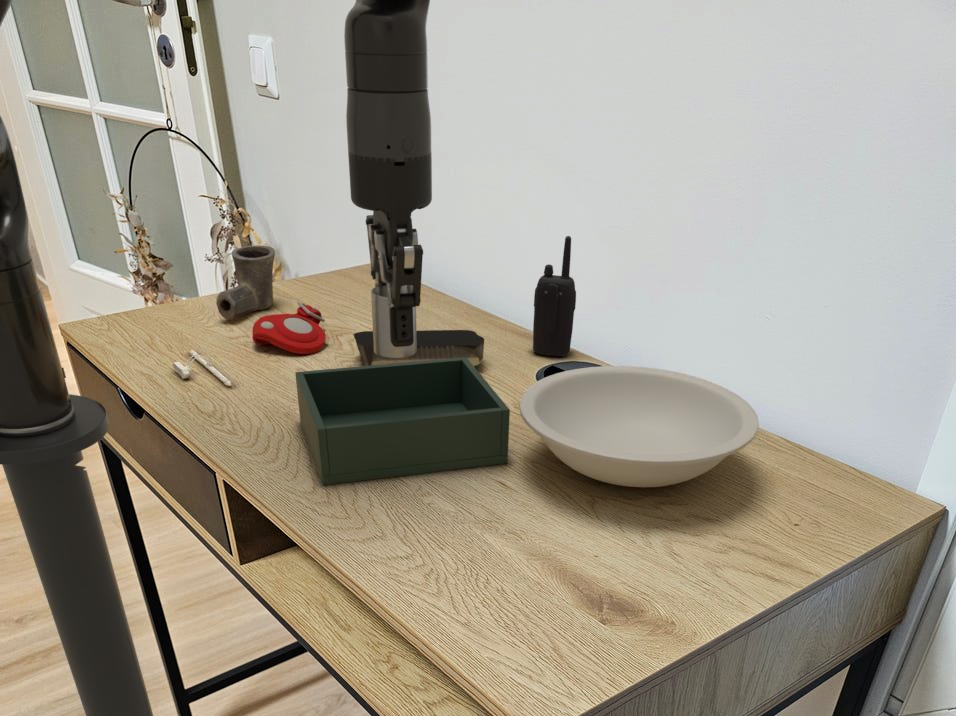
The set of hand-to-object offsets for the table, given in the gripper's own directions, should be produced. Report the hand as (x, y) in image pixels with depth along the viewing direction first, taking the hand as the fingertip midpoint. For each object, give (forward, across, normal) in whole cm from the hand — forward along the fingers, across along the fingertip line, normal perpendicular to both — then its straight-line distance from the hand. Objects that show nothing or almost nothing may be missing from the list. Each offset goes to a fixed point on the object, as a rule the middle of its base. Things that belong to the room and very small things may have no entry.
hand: (396, 336), depth 90 cm
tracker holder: (+12, -35, -6) cm, 37 cm away
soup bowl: (+12, +12, +22) cm, 28 cm away
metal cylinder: (+2, 0, 0) cm, 2 cm away
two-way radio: (+12, -22, +26) cm, 36 cm away
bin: (+12, 0, 0) cm, 12 cm away
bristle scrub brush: (+12, -23, +8) cm, 27 cm away
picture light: (+12, -26, -20) cm, 35 cm away
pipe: (+12, -50, -11) cm, 52 cm away
